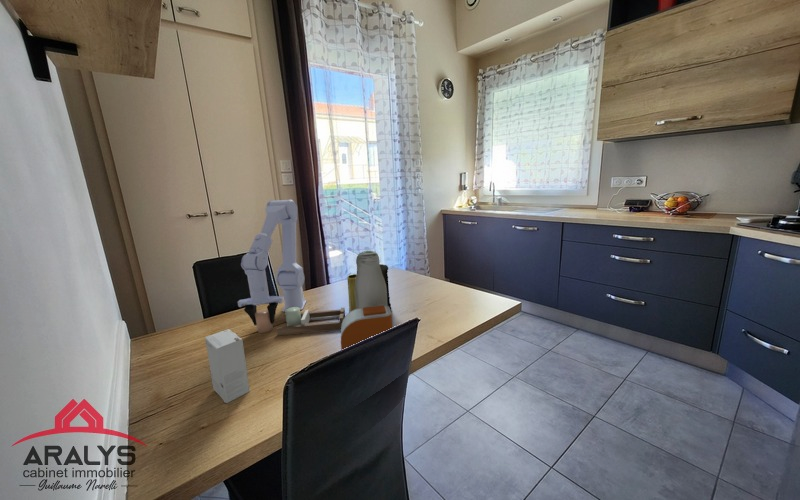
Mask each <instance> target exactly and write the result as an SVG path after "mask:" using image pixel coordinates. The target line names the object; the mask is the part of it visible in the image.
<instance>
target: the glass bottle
mask: <svg viewBox="0 0 800 500" xmlns="http://www.w3.org/2000/svg"><path fill="white" fill-rule="evenodd" d="M380 263H381V261H380V257H379V254H378V252H376V251H374V250H364V251H362V252H359V253H358V254H357V256H356V258H355V264H356V273H355V274H356V280H355V287H354V291H355V300H356V308H357V309H358V308H363V307H371V306H380V305H387V289H386V283H385V280H384V277H383V275H382V272H381V268H380Z"/></svg>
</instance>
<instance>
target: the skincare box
mask: <svg viewBox="0 0 800 500" xmlns="http://www.w3.org/2000/svg"><path fill="white" fill-rule="evenodd" d="M204 339H205V340H204V341H205V345H206V353H207V358H208V365H209V369H210V376H211V382H212V388H213V391H214V392H216V393H217V394H218V395H219V397H220V398H221V399H222V400H223V402H224V403H225V404H228V403H230V402H232V401H234V400H235V399H238V398H240V397H242V396H243V395H244V396H245V394H247V393H249V392H250V385H249V377H248V371H247V364H246V363H247V362H246V356H245V350H244V343H243V338H241V337H239V336H238V335H237V333H236V332H233V331H232V330H230V329H229V328H228V329H225V330H221V331H218V332H216V333H214V334H209V335H207V336H204Z"/></svg>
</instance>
